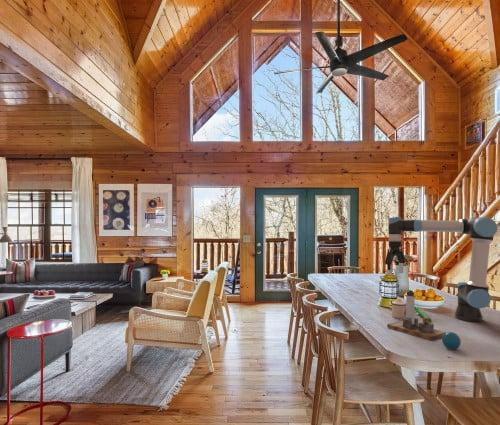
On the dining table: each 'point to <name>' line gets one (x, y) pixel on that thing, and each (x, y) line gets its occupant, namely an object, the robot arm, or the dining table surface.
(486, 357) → the dining table surface
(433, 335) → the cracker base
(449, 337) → the ball
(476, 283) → the robot arm
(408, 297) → the lever
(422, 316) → the green onion
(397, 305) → the teacup with lid
